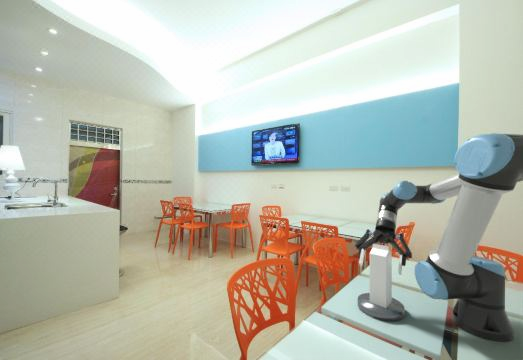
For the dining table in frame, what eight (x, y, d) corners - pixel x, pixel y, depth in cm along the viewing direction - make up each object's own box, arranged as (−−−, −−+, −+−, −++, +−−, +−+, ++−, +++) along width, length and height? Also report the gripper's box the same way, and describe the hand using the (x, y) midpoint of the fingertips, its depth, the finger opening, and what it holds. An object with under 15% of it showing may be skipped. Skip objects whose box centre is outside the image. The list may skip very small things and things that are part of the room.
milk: (386, 308, 86) (386, 248, 86) (369, 302, 90) (369, 245, 90) (391, 302, 90) (391, 245, 90) (375, 297, 95) (375, 242, 95)
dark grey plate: (414, 315, 86) (414, 308, 86) (383, 325, 80) (383, 318, 80) (377, 296, 101) (377, 290, 101) (348, 303, 94) (348, 297, 94)
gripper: (421, 232, 96) (419, 281, 84) (357, 225, 111) (347, 266, 99) (420, 221, 92) (418, 271, 80) (354, 215, 107) (343, 257, 95)
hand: (379, 268), depth 90 cm, fingers open, 13 cm apart
